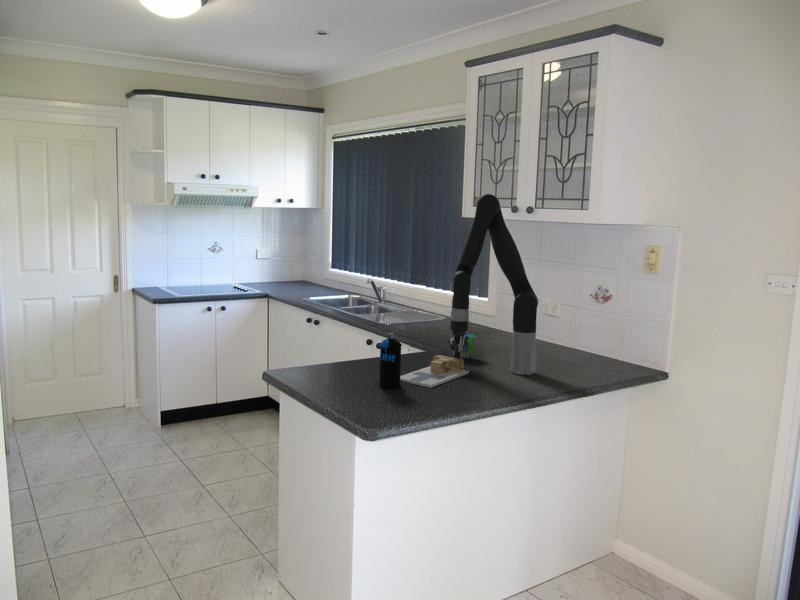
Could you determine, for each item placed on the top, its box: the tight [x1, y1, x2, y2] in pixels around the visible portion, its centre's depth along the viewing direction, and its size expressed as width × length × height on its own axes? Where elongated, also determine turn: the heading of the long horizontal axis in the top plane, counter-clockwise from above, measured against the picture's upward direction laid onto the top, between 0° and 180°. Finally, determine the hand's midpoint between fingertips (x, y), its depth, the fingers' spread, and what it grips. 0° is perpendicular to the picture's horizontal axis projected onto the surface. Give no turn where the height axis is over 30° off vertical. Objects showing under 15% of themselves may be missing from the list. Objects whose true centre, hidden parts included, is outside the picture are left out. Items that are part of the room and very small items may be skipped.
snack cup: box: [450, 333, 476, 360], centre depth 294 cm, size 16×10×10 cm
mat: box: [400, 365, 470, 389], centre depth 261 cm, size 16×28×1 cm, turn 144°
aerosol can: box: [378, 332, 403, 390], centre depth 244 cm, size 8×8×20 cm
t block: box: [430, 354, 465, 374], centre depth 266 cm, size 12×12×4 cm
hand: (457, 359), depth 276 cm, fingers closed
